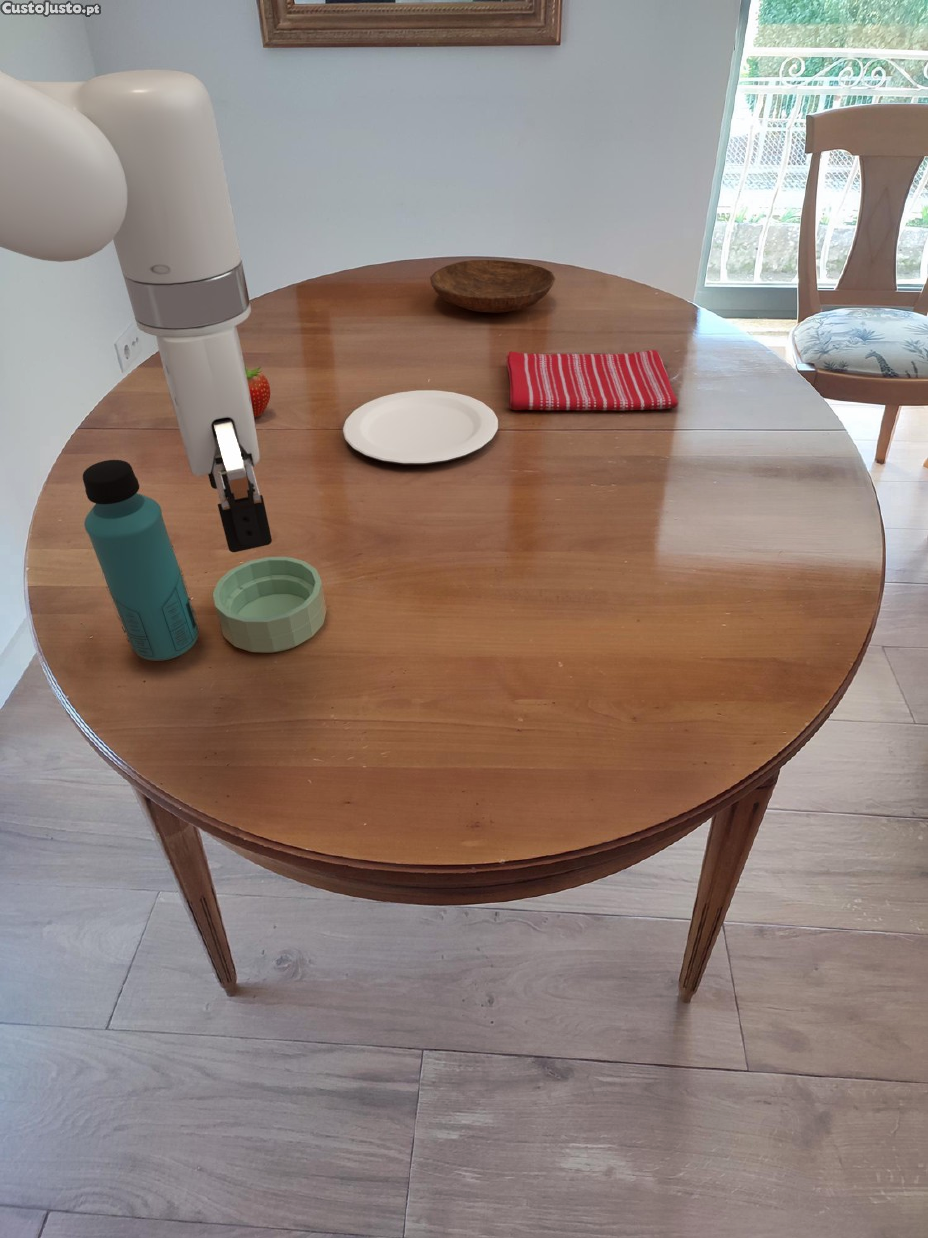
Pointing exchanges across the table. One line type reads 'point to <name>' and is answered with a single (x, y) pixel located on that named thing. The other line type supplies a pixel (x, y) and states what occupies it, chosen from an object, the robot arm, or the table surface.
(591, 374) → the dish towel
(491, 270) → the bowl
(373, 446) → the plate
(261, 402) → the fruit
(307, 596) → the celadon bowl
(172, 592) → the beverage bottle
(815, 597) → the table surface
